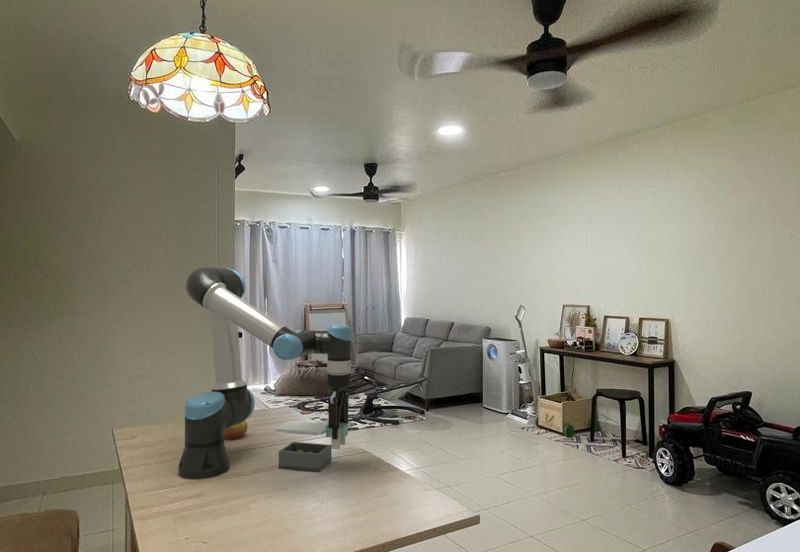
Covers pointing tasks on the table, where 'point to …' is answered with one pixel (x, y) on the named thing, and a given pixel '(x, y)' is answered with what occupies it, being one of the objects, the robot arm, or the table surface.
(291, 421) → the lid
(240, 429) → the apple
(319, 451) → the tub
